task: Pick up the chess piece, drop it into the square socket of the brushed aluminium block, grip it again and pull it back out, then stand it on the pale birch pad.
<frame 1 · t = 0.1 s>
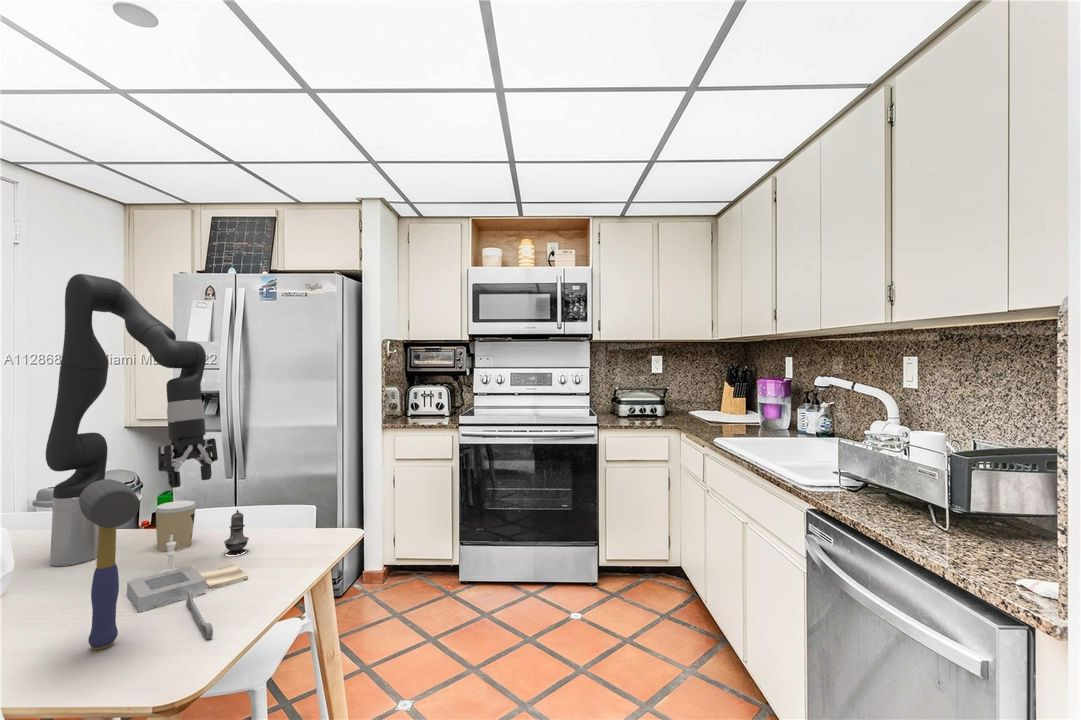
hand: (191, 483, 121), 22 cm above the table, tool pointing down, fingers open, 8 cm apart
salt shaker: (236, 553, 134), on the table
combination wrench: (197, 622, 98), on the table
birch pad: (222, 578, 118), on the table
coffee cup: (174, 547, 138), on the table
rubber mallet: (102, 647, 88), on the table
socket block: (166, 593, 109), on the table
chess piece: (170, 576, 119), on the table
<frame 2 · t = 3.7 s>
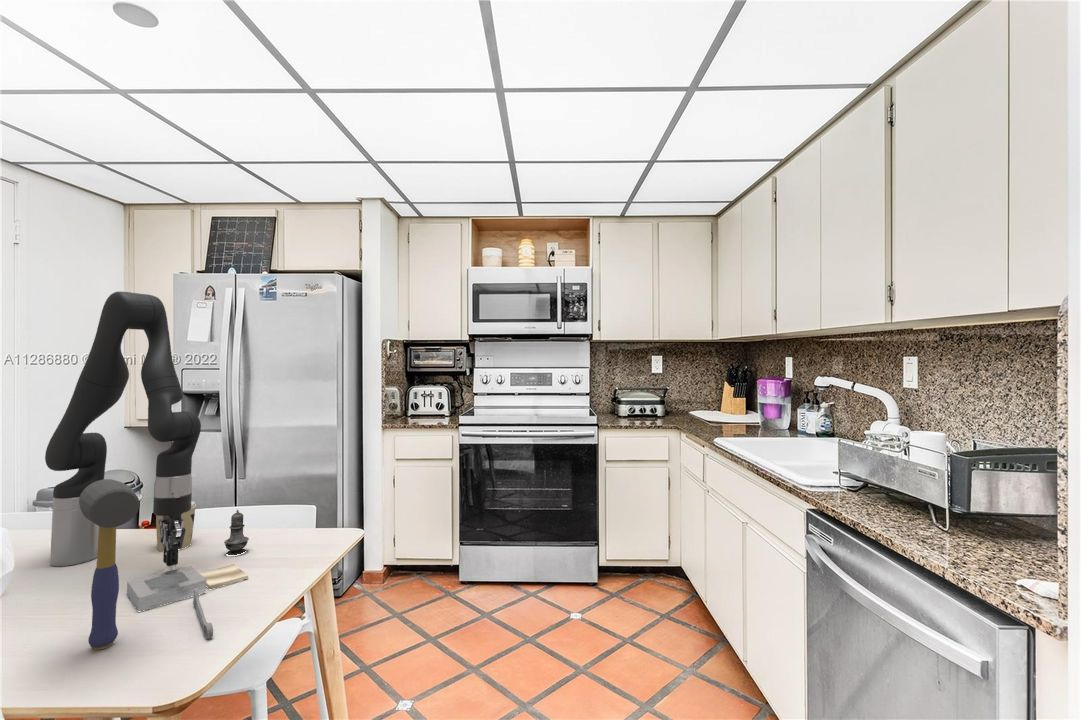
hand: (170, 563, 119), 3 cm above the table, tool pointing down, fingers closed on chess piece
chess piece: (169, 576, 119), on the table, touching gripper
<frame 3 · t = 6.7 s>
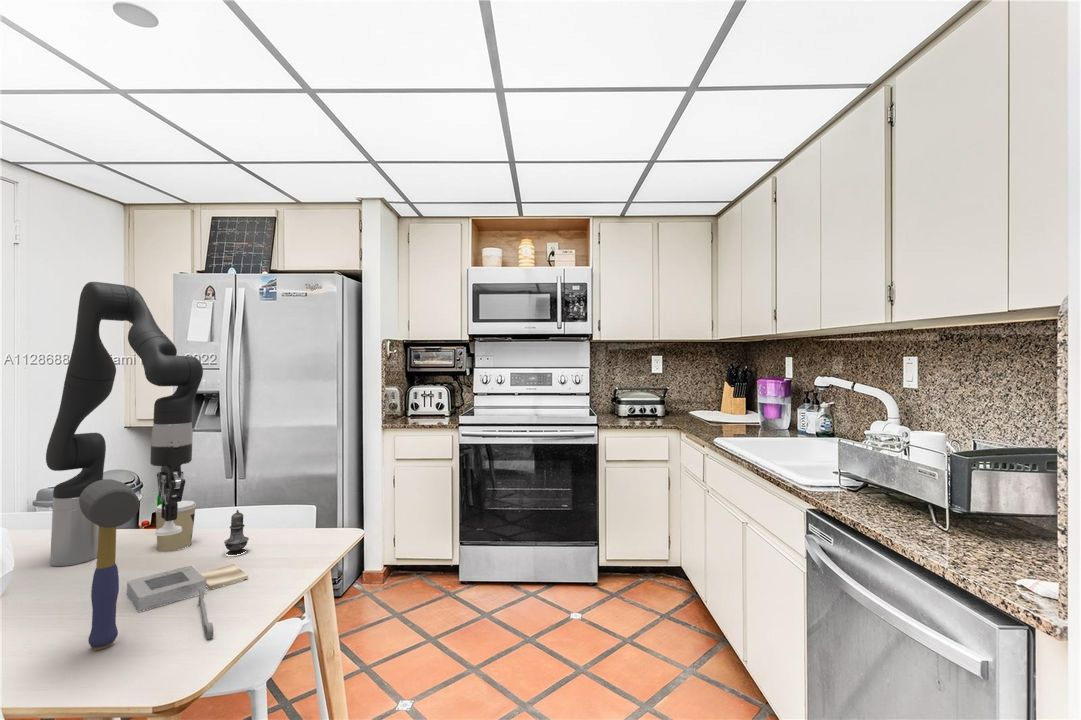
hand: (169, 518, 110), 17 cm above the table, tool pointing down, fingers closed on chess piece
chess piece: (168, 533, 110), point 14 cm above the table, touching gripper
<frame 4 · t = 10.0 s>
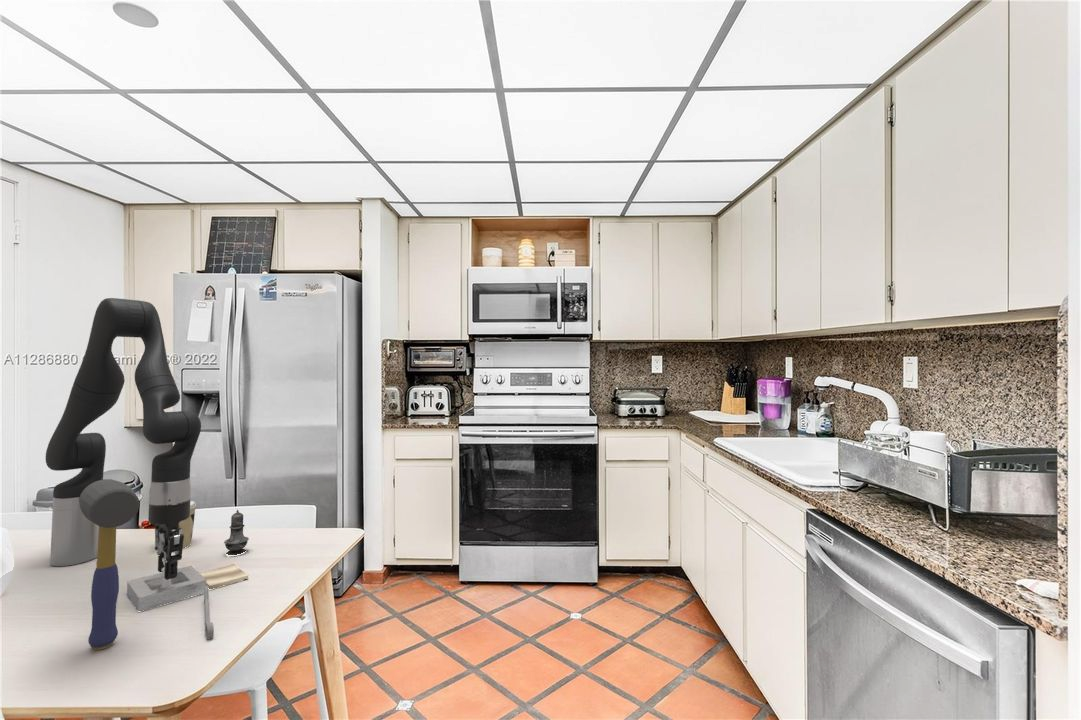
hand: (167, 574, 109), 4 cm above the table, tool pointing down, fingers open, 5 cm apart
chess piece: (166, 594, 109), resting in socket block
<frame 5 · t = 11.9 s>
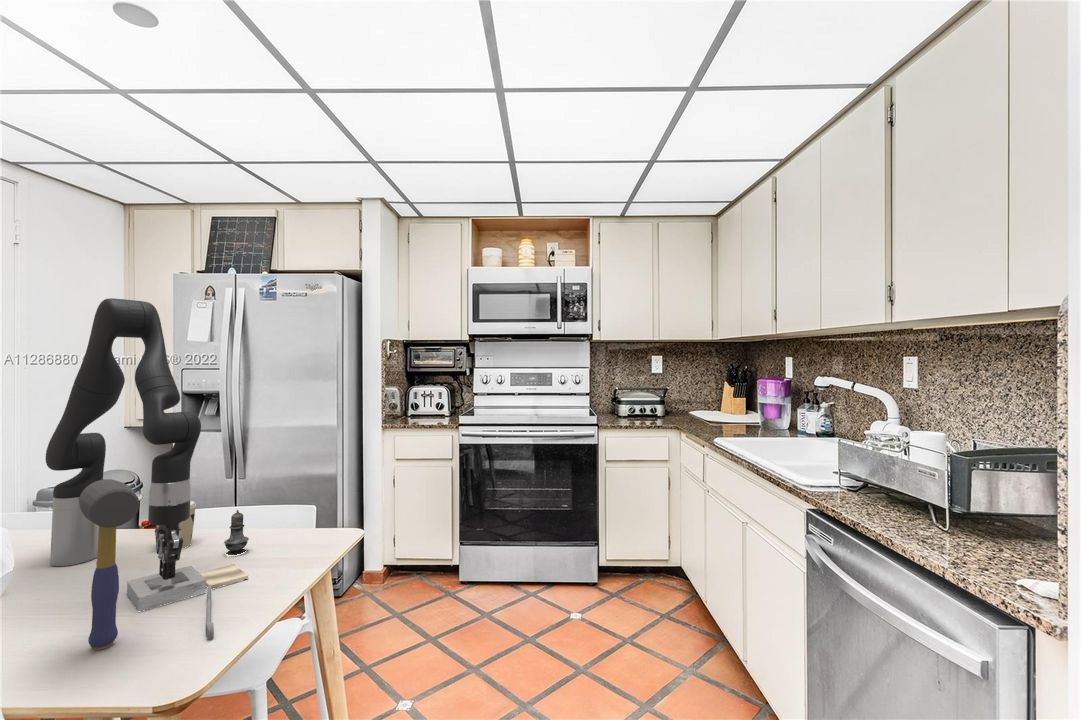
hand: (167, 576, 109), 4 cm above the table, tool pointing down, fingers closed on chess piece
chess piece: (166, 594, 109), resting in socket block, touching gripper
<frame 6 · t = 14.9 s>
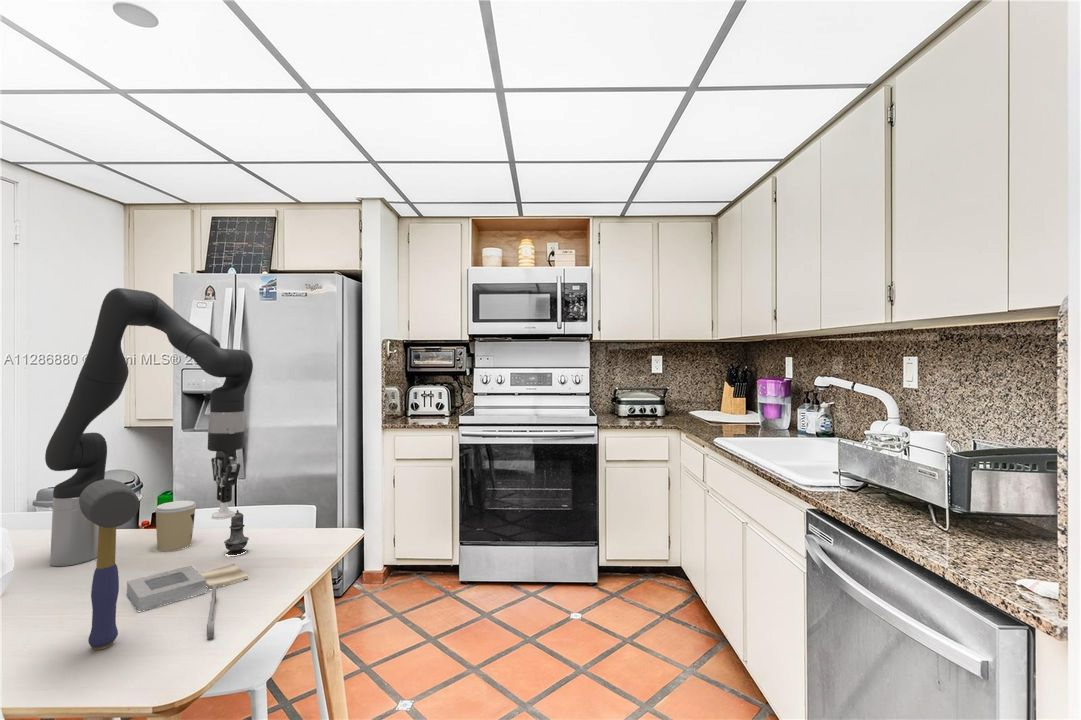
hand: (224, 500, 118), 19 cm above the table, tool pointing down, fingers closed on chess piece
chess piece: (223, 517, 118), point 15 cm above the table, touching gripper
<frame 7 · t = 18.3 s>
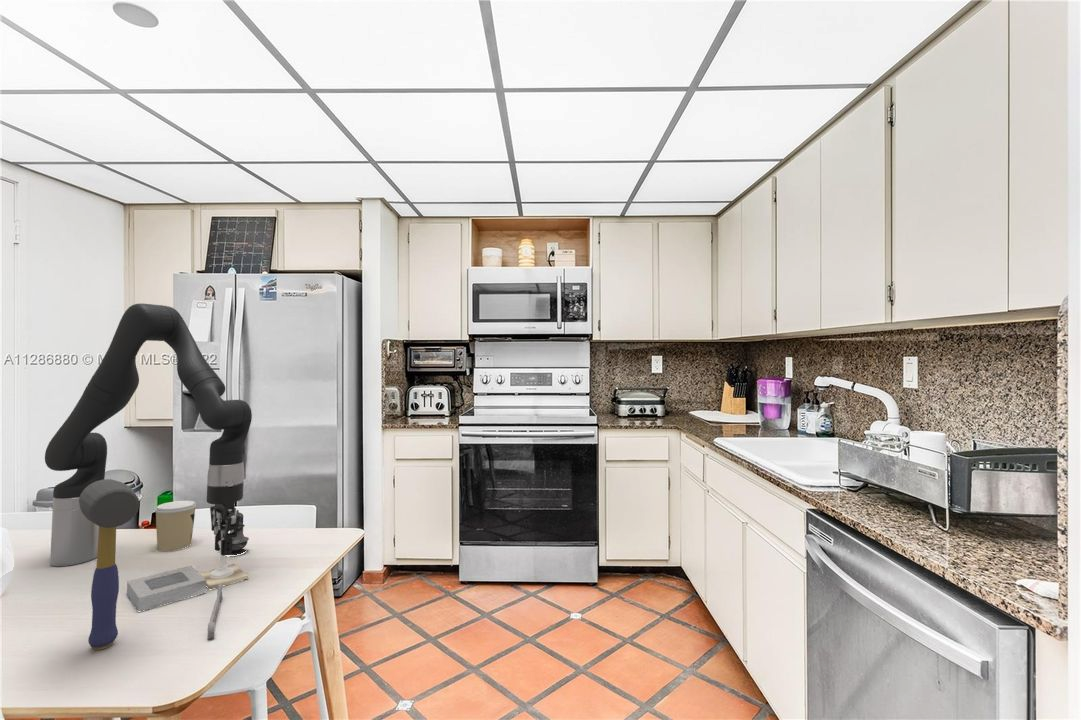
hand: (223, 551, 118), 6 cm above the table, tool pointing down, fingers open, 4 cm apart
chess piece: (221, 575, 118), point 1 cm above the table, touching birch pad
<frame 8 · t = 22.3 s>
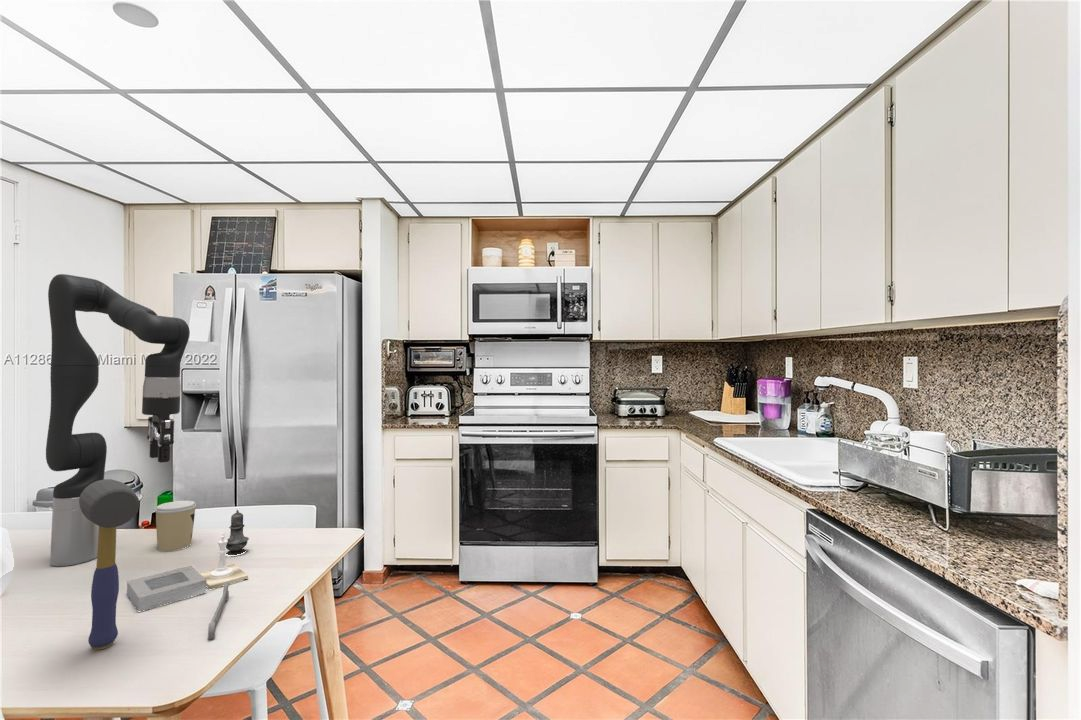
hand: (159, 459, 121), 28 cm above the table, tool pointing down, fingers open, 8 cm apart
at the end: chess piece inside the target area on the birch pad (0.2 cm from its centre), point 0.8 cm above the birch pad's base; chess piece tilted 0°; the gripper is holding nothing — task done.
